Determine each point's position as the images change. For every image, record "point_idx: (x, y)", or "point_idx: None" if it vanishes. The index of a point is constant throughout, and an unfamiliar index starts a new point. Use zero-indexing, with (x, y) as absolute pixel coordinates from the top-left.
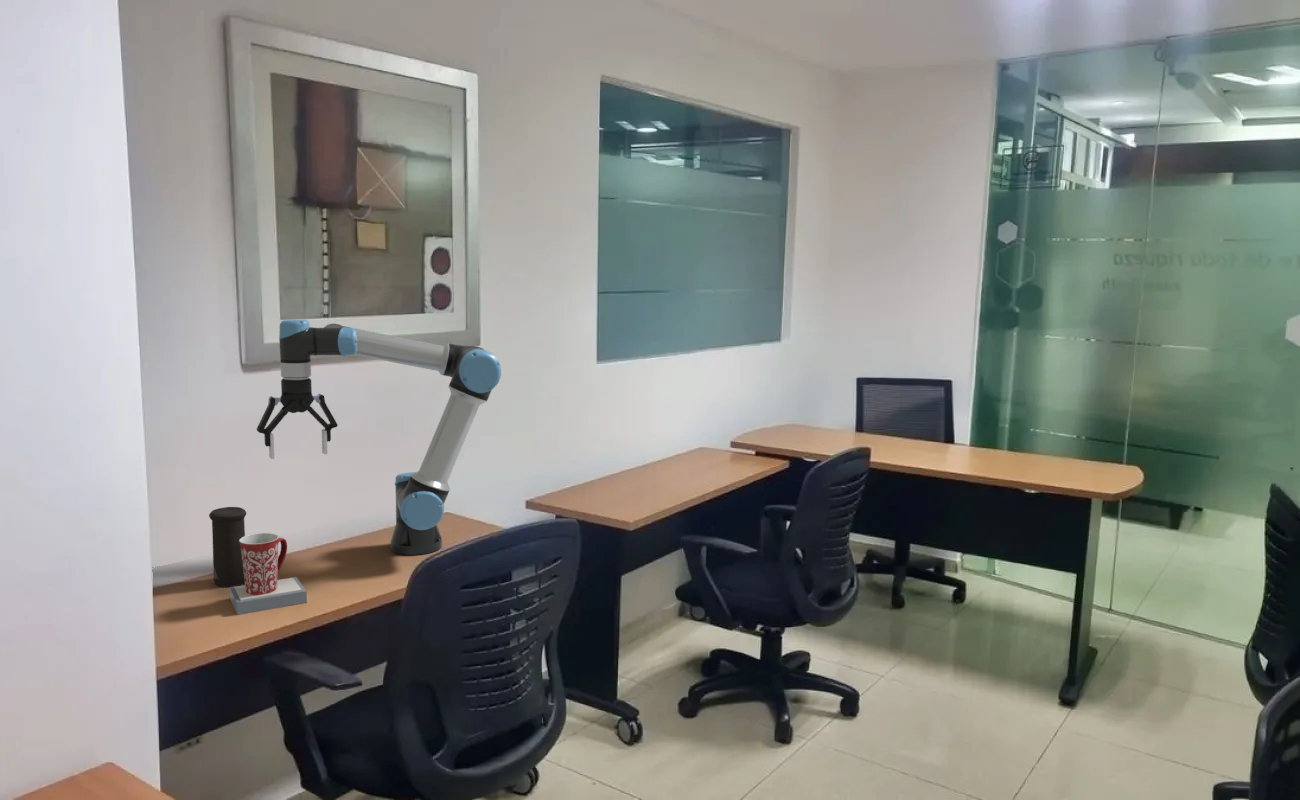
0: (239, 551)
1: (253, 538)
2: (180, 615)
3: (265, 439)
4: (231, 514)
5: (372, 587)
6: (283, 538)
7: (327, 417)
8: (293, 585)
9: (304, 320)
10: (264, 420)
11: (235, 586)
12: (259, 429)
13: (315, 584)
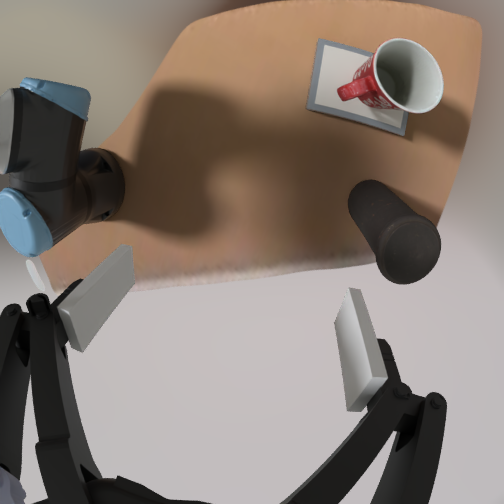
0: (380, 195)
1: (408, 107)
2: (455, 126)
3: (396, 367)
4: (420, 222)
5: (208, 45)
6: (349, 84)
7: (19, 374)
8: (328, 68)
9: None
10: (432, 458)
11: (396, 132)
12: (442, 408)
13: (275, 105)
